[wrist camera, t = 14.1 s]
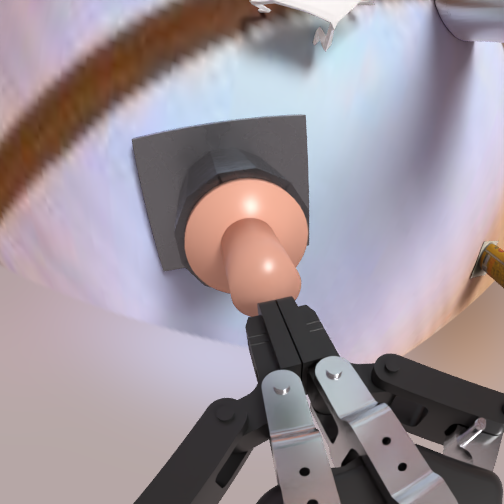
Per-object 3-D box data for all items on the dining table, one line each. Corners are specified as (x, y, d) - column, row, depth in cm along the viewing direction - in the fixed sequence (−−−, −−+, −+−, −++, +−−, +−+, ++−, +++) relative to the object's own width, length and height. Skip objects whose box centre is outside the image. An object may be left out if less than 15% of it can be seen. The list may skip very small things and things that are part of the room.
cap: (289, 162, 19) (346, 202, 12) (292, 258, 24) (335, 328, 16) (176, 179, 19) (165, 231, 11) (196, 275, 23) (202, 357, 15)
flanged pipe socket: (299, 114, 25) (354, 123, 16) (304, 239, 32) (345, 293, 23) (134, 137, 23) (101, 157, 14) (164, 264, 30) (157, 331, 21)
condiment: (498, 240, 42) (536, 269, 32) (484, 274, 46) (518, 305, 36) (483, 240, 41) (525, 273, 30) (469, 277, 45) (505, 312, 35)
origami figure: (292, 67, 23) (311, 61, 19) (242, 4, 19) (253, -14, 14) (375, 27, 21) (401, 20, 17) (334, -30, 17) (355, -45, 13)
